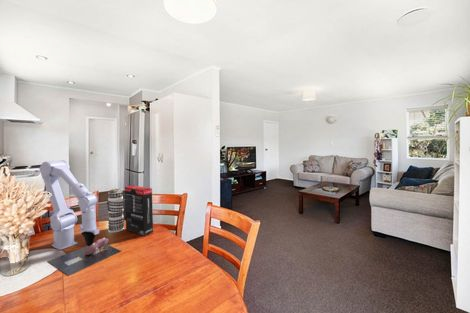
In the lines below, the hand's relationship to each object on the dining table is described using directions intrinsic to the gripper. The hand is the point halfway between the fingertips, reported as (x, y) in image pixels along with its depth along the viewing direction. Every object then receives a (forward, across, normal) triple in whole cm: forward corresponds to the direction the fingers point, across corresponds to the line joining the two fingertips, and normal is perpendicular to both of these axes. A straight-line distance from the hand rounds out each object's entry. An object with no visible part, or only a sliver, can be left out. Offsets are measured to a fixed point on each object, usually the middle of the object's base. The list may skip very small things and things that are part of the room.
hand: (89, 245), depth 105 cm
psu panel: (+1, +7, -5) cm, 9 cm away
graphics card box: (+2, +4, +25) cm, 25 cm away
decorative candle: (+2, -10, +20) cm, 22 cm away
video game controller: (+1, +7, 0) cm, 7 cm away
